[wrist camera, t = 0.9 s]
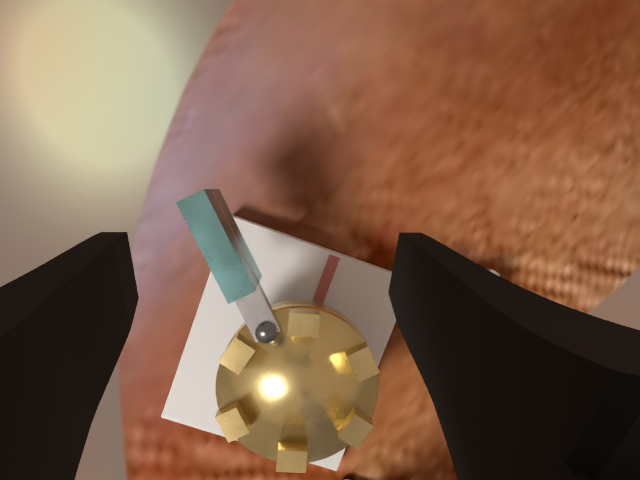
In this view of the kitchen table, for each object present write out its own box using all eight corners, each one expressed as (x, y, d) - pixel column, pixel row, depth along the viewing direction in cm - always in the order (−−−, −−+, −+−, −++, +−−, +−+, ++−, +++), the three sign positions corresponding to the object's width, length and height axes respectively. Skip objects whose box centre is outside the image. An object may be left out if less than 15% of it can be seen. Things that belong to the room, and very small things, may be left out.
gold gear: (396, 405, 28) (413, 444, 23) (262, 467, 28) (256, 516, 24) (281, 160, 25) (277, 154, 21) (135, 228, 25) (102, 236, 21)
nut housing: (335, 460, 33) (340, 500, 29) (166, 408, 32) (145, 442, 27) (407, 277, 31) (424, 290, 27) (232, 214, 30) (221, 218, 26)
